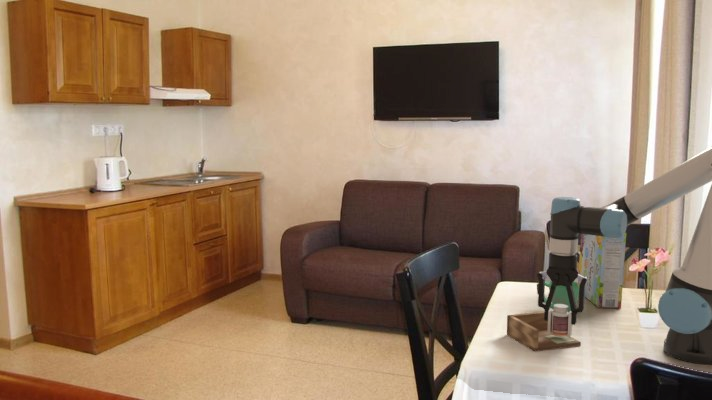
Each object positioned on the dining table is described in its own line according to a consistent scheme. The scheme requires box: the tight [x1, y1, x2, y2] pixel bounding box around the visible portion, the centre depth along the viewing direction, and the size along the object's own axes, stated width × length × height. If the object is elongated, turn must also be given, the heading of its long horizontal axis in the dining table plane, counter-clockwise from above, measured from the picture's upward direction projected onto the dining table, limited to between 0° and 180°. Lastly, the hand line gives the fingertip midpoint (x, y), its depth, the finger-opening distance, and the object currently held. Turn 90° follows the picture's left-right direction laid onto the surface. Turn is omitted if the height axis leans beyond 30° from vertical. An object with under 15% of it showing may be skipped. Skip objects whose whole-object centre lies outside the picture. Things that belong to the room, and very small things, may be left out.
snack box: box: [577, 232, 627, 309], centre depth 222 cm, size 22×9×26 cm, turn 179°
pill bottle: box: [551, 304, 569, 337], centre depth 180 cm, size 5×5×8 cm
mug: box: [536, 280, 580, 313], centre depth 208 cm, size 15×10×10 cm
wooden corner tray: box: [506, 310, 581, 353], centre depth 182 cm, size 14×15×6 cm
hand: (559, 333), depth 181 cm, fingers closed on pill bottle, 5 cm apart
